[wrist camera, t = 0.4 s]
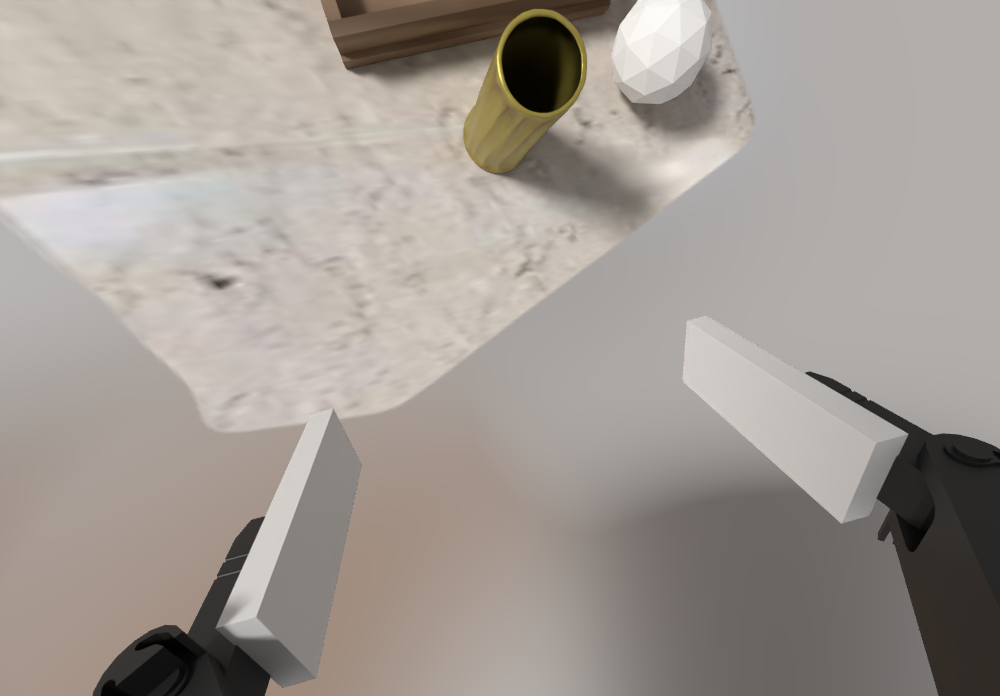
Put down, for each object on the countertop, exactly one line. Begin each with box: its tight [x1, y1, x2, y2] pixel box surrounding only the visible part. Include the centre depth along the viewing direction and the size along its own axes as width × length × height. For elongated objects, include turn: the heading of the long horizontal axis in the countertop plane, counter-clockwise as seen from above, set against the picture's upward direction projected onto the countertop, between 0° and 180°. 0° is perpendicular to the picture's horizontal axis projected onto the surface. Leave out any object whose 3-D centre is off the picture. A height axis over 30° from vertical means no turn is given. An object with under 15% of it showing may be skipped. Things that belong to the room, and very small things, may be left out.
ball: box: [612, 0, 712, 104], centre depth 31 cm, size 8×8×8 cm
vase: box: [464, 9, 587, 173], centre depth 27 cm, size 6×6×14 cm
